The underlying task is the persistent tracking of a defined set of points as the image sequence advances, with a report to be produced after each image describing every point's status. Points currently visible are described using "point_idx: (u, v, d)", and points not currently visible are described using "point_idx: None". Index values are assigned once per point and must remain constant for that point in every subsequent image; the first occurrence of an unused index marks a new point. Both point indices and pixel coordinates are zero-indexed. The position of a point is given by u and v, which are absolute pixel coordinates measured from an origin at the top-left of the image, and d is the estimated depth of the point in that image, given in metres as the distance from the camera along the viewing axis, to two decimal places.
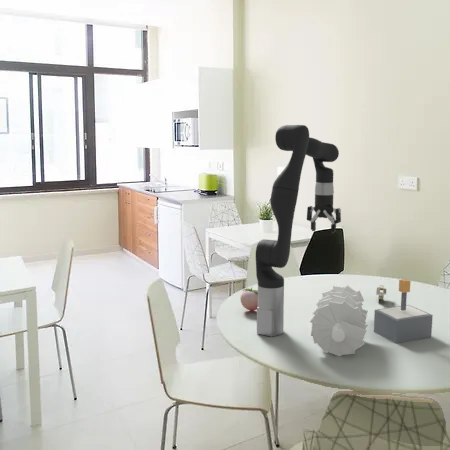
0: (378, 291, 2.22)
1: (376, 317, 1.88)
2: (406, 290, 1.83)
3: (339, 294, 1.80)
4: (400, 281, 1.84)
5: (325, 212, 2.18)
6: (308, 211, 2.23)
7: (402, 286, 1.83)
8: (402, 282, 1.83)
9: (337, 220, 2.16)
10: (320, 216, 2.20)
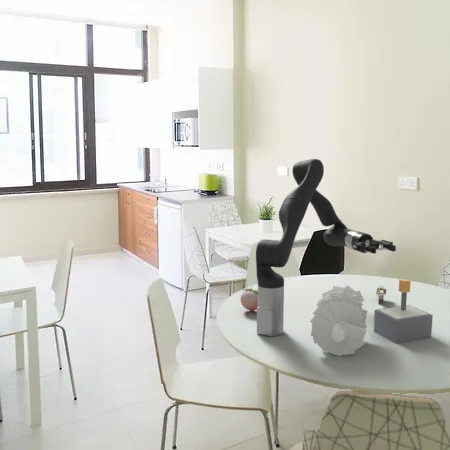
0: (378, 291, 2.22)
1: (376, 317, 1.88)
2: (406, 290, 1.83)
3: (339, 294, 1.80)
4: (400, 281, 1.84)
5: None
6: (357, 243, 1.98)
7: (402, 286, 1.83)
8: (402, 282, 1.83)
9: (390, 242, 2.00)
10: (372, 243, 1.98)
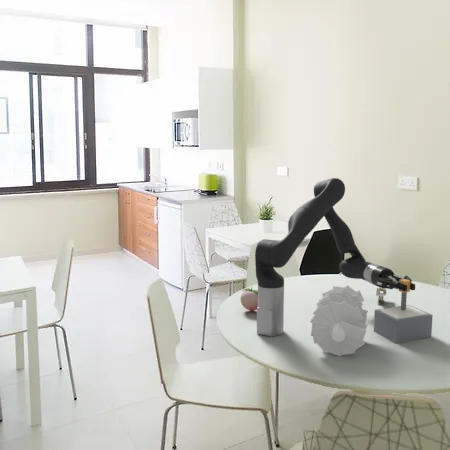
0: (378, 292, 2.21)
1: (376, 317, 1.88)
2: None
3: (339, 294, 1.80)
4: (400, 281, 1.84)
5: (395, 275, 1.90)
6: (382, 280, 1.86)
7: None
8: (402, 282, 1.83)
9: (409, 279, 1.87)
10: (395, 279, 1.88)
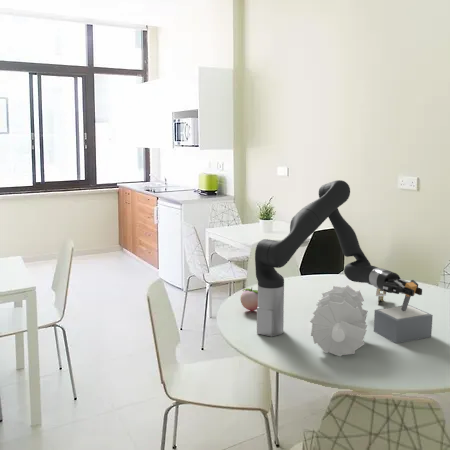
0: (378, 292, 2.21)
1: (376, 317, 1.88)
2: None
3: (339, 294, 1.80)
4: (407, 285, 1.80)
5: (401, 279, 1.87)
6: (388, 284, 1.83)
7: None
8: (408, 287, 1.80)
9: (415, 283, 1.84)
10: (401, 283, 1.85)
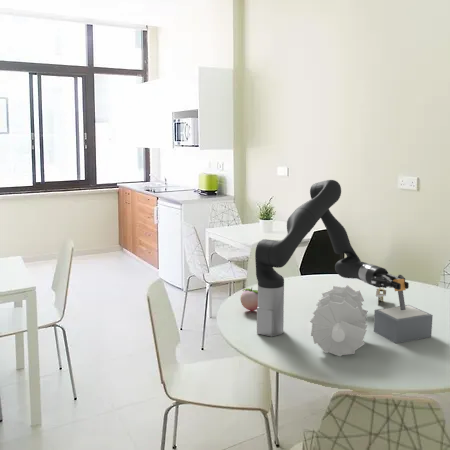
0: (378, 292, 2.20)
1: (376, 317, 1.88)
2: (401, 288, 1.85)
3: (339, 294, 1.80)
4: None
5: (389, 274, 1.93)
6: (376, 279, 1.89)
7: None
8: (396, 281, 1.86)
9: (402, 278, 1.91)
10: (389, 277, 1.92)
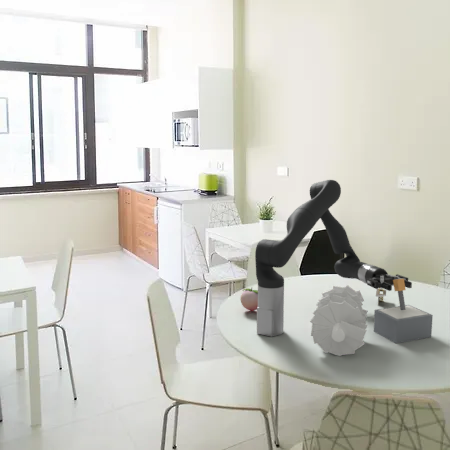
0: (378, 292, 2.20)
1: (376, 317, 1.88)
2: (401, 288, 1.85)
3: (339, 294, 1.80)
4: (394, 281, 1.87)
5: (389, 275, 1.94)
6: (371, 279, 1.91)
7: (397, 285, 1.85)
8: (396, 281, 1.86)
9: (405, 277, 1.93)
10: (386, 279, 1.91)
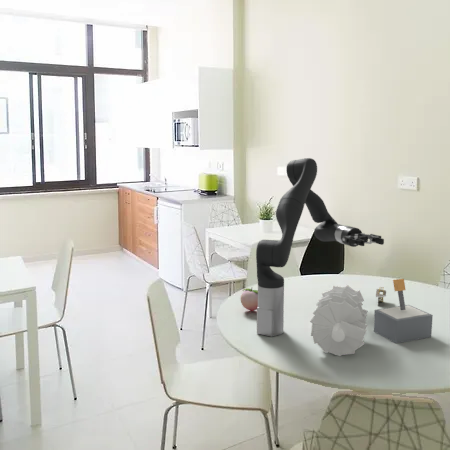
0: (378, 293, 2.19)
1: (376, 317, 1.88)
2: (401, 288, 1.85)
3: (339, 294, 1.80)
4: (394, 281, 1.87)
5: (363, 233, 2.04)
6: (346, 236, 2.01)
7: (397, 285, 1.85)
8: (396, 281, 1.86)
9: None
10: (360, 237, 2.02)
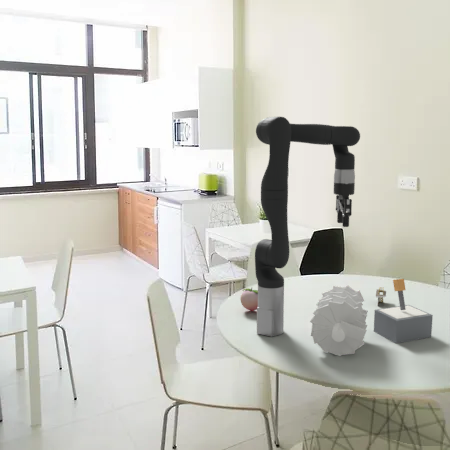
0: (378, 293, 2.19)
1: (376, 317, 1.88)
2: (401, 288, 1.85)
3: (339, 294, 1.80)
4: (394, 281, 1.87)
5: (339, 202, 1.96)
6: (336, 200, 2.03)
7: (397, 285, 1.85)
8: (396, 281, 1.86)
9: (344, 212, 1.91)
10: (340, 206, 1.98)
